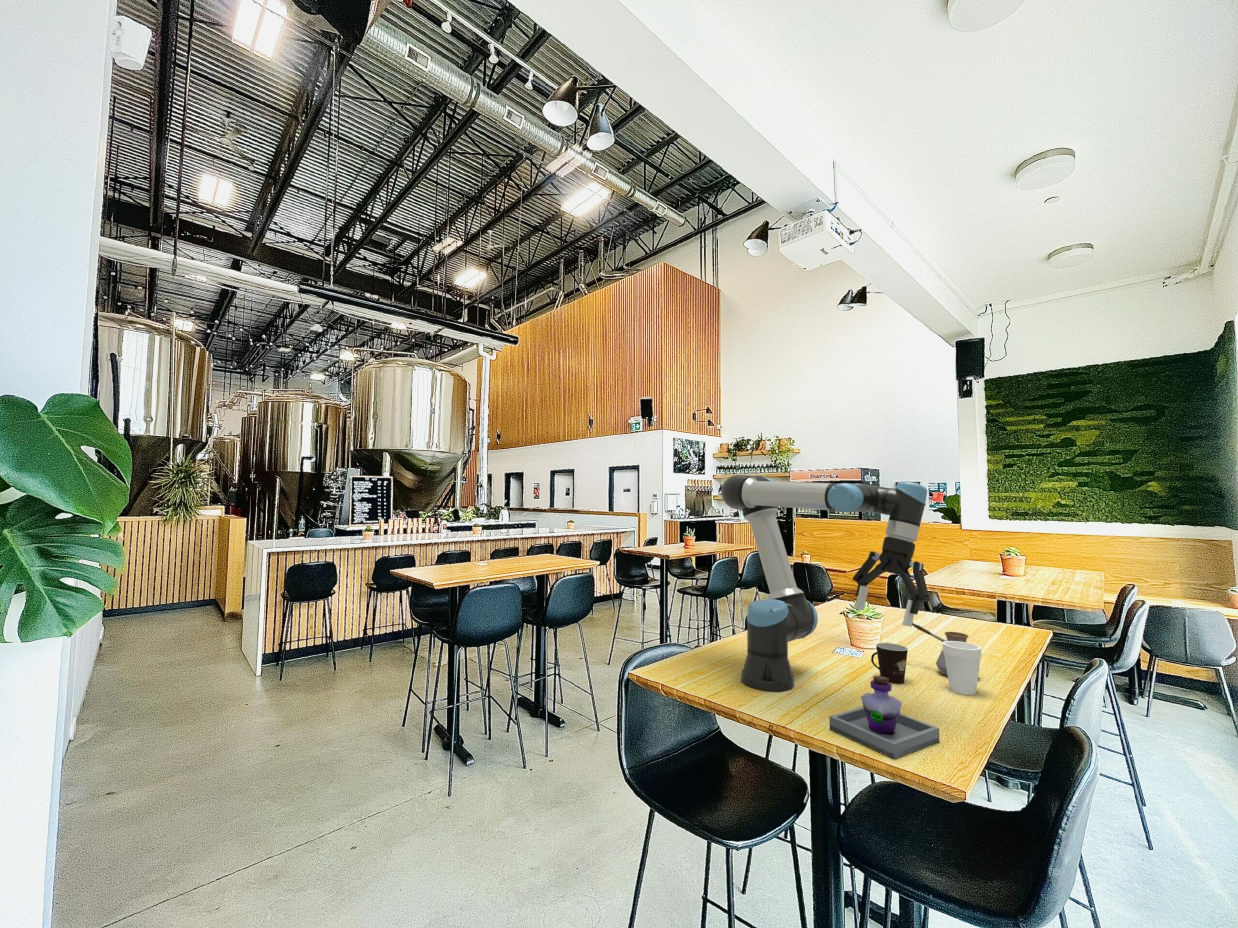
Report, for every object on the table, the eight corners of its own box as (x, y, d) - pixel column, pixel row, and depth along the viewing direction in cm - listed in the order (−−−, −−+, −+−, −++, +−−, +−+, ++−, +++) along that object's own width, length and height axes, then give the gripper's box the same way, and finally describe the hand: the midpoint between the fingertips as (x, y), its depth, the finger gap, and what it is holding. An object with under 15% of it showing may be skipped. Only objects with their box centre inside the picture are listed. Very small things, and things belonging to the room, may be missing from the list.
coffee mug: (900, 676, 162) (900, 643, 163) (913, 685, 154) (913, 651, 154) (862, 674, 163) (861, 641, 164) (872, 683, 155) (872, 649, 155)
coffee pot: (983, 676, 164) (981, 627, 165) (975, 684, 156) (973, 633, 157) (908, 660, 179) (907, 616, 180) (897, 667, 171) (896, 621, 172)
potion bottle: (862, 733, 118) (861, 680, 119) (860, 719, 126) (859, 668, 127) (905, 741, 115) (904, 685, 116) (900, 725, 123) (899, 673, 124)
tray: (829, 729, 123) (829, 715, 123) (874, 715, 131) (874, 703, 132) (894, 758, 109) (893, 744, 109) (939, 741, 117) (939, 727, 118)
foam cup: (985, 691, 150) (984, 645, 151) (979, 699, 143) (978, 651, 144) (947, 682, 157) (946, 639, 157) (940, 690, 150) (938, 644, 151)
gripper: (956, 551, 130) (937, 635, 128) (866, 534, 152) (849, 605, 150) (940, 545, 126) (920, 631, 125) (850, 528, 148) (833, 601, 146)
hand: (881, 617), depth 137 cm, fingers open, 13 cm apart
